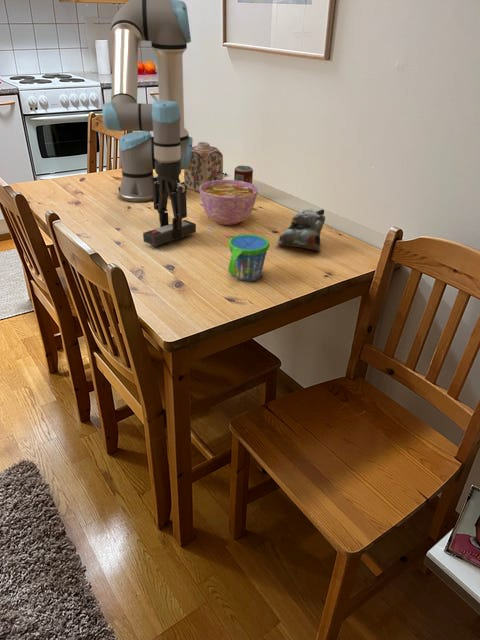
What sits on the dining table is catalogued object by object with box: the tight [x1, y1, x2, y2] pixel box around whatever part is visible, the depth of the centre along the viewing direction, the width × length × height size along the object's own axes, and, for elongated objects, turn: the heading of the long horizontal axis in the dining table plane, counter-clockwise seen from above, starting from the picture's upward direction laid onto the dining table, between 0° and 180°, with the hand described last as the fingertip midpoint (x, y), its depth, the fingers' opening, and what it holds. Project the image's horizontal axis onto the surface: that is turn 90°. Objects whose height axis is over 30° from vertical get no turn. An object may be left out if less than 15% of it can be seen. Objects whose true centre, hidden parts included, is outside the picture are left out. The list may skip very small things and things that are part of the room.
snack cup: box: [227, 234, 270, 282], centre depth 131 cm, size 16×10×10 cm
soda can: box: [233, 165, 254, 184], centre depth 188 cm, size 7×7×12 cm
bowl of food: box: [199, 179, 259, 226], centre depth 167 cm, size 20×20×12 cm
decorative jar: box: [183, 141, 224, 193], centre depth 196 cm, size 12×12×18 cm
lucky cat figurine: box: [276, 208, 326, 252], centre depth 150 cm, size 15×12×14 cm
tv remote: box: [142, 219, 197, 247], centre depth 151 cm, size 17×5×3 cm, turn 138°
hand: (171, 235), depth 152 cm, fingers closed on tv remote, 5 cm apart
